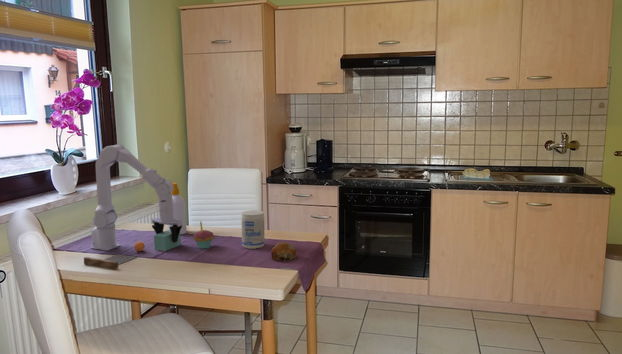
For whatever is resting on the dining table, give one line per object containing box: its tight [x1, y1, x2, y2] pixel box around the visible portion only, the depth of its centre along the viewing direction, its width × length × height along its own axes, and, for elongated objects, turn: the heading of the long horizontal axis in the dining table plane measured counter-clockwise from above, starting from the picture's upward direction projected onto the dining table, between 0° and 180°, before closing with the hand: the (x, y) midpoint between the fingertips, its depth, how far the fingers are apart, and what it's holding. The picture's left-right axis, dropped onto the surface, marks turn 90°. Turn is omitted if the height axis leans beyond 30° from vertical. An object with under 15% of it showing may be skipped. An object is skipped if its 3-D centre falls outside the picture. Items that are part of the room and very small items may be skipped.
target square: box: [103, 253, 138, 266], centre depth 184 cm, size 10×10×1 cm
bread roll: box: [270, 241, 297, 263], centre depth 184 cm, size 10×10×8 cm
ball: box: [134, 241, 146, 252], centre depth 194 cm, size 4×4×4 cm
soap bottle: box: [166, 182, 188, 236], centre depth 221 cm, size 9×9×24 cm
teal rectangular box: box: [153, 229, 182, 252], centre depth 199 cm, size 6×10×6 cm, turn 156°
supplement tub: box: [241, 209, 265, 250], centre depth 199 cm, size 10×10×15 cm
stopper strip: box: [83, 256, 119, 270], centre depth 176 cm, size 16×1×2 cm, turn 66°
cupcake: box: [193, 220, 215, 249], centre depth 199 cm, size 9×8×12 cm
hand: (167, 241), depth 199 cm, fingers open, 7 cm apart
